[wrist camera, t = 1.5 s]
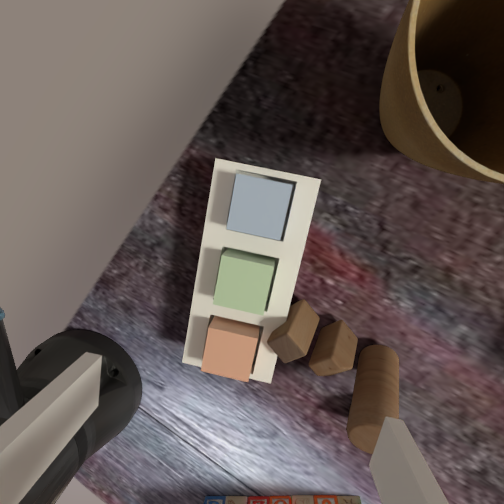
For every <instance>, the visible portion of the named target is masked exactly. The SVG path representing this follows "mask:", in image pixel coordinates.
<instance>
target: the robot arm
mask: <svg viewBox="0 0 504 504" xmlns="http://www.w3.org/2000/svg"><path fill="white" fill-rule="evenodd" d="M4 317H5V313H4V310H2V309H1V308H0V504H55V503H56V501H57V500H58V498H59V497H60V495H61V494H62V493H63V491H64V490H65V488H66V487H67V485H68V484H69V482H70V481H71V479H72V478H73V477H74V475H75V474H76V472H77V471H78V470H79V468H80V467H81V465H82V464H83V463H84V461H85V460H86V459H88V458H89V457H90V456H91V455H93V454H94V453H95V452H97V451H98V450H99V449H100V448H102V447H103V446H104V445H105V444H107V443H108V442H109V441H110V440H111V439H113V438H114V437H115V436H117V435H118V434H119V433H120V432H121V431H122V430H123V429H124V428H125V427H126V426H127V425H128V423H129V422H130V420H131V419H132V417H133V416H134V414H135V413H136V411H137V409H138V407H139V405H140V402H141V397H142V382H141V378H140V374H139V372H138V369H137V367H136V365H135V363H134V362H133V360H132V359H131V357H130V356H129V355H128V354H127V352H126V351H125V350H124V349H123V348H121V347H120V346H119V345H118V344H117V343H115V342H114V341H112V340H111V339H109V338H107V337H105V336H103V335H101V334H98V333H95V332H91V331H86V330H69V331H64V332H61V333H58V334H56V335H54V336H52V337H51V338H49V339H47V340H46V341H45V342H43V343H41V344H40V345H38V346H37V347H36V348H35V349H34V350H33V351H32V352H31V353H30V354H29V355H28V356H27V357H26V359H25V360H24V361H23V363H22V364H21V365H20V366H19V368H18V369H17V370H16V366H15V363H14V359H13V355H12V352H11V348H10V344H9V341H8V337H7V333H6V330H5V327H4V323H3V318H4ZM369 467H370V470H371V473H372V476H373V479H374V482H375V485H376V488H377V491H378V494H379V497H380V500H381V503H382V504H449V503H448V501H447V499H446V498H445V496H444V494H443V492H442V490H441V488H440V487H439V485H438V483H437V481H436V479H435V478H434V476H433V474H432V472H431V470H430V468H429V467H428V465H427V463H426V461H425V459H424V458H423V456H422V454H421V452H420V450H419V449H418V447H417V445H416V443H415V441H414V439H413V438H412V436H411V434H410V432H409V430H408V429H407V427H406V425H405V423H404V421H403V420H400V419H395V418H391V417H385V420H384V423H383V426H382V429H381V432H380V435H379V437H378V440H377V443H376V446H375V449H374V452H373V455H372V458H371V461H370V464H369Z"/></svg>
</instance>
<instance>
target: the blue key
mask: <svg viewBox="0 0 504 504" xmlns="http://www.w3.org/2000/svg"><path fill="white" fill-rule="evenodd" d="M292 186H293V185H291V184H286V183H281V182H276V181H272V180H267V179H262V178H257V177H252V176H247V175H242V174H237V173H236V179H235V184H234V190H233V195H232V201H231V206H230V212H229V217H228V223H227V228H226V229H228V230H233V231H238V232H242V233H247V234H252V235H256V236H261V237H266V238H270V239H275V240H280V239H281V235H282V231H283V226H284V222H285V217H286V213H287V208H288V204H289V200H290V195H291V191H292Z"/></svg>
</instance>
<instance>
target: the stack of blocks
mask: <svg viewBox="0 0 504 504" xmlns="http://www.w3.org/2000/svg"><path fill="white" fill-rule="evenodd" d="M203 504H361V500H360V497H359V496H336V495H314V496H313V495H292V496H270V497H268V496H249V497H247V496H205V499H204V503H203Z"/></svg>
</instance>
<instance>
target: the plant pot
mask: <svg viewBox="0 0 504 504" xmlns="http://www.w3.org/2000/svg"><path fill="white" fill-rule="evenodd" d="M438 86H441V88H440V89H439V90H436V89H437V87H438ZM379 112H380V121H381V126H382V129H383V132H384V134H385V136H386V137H387V139H388V140H389V142H390V143H391V144H392V145H393V146H394V147H395V148H396V149H397V150H399V151H400V152H401V153H403V154H404V155H406V156H407V157H409V158H411V159H413V160H414V161H416V162H419V163H421V164H423V165H426V166H428V167H431V168H434V169H437V170H440V171H443V172H446V173H450V174H454V175H458V176H462V177H467V178H471V179H476V180H482V181H488V182H494V183H500V184H504V0H409V2H408V4H407V7H406V9H405V12H404V14H403V16H402V19H401V21H400V24H399V27H398V29H397V32H396V34H395V37H394V40H393V43H392V46H391V50H390V53H389V56H388V59H387V63H386V67H385V71H384V75H383V80H382V86H381V91H380V103H379Z"/></svg>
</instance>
